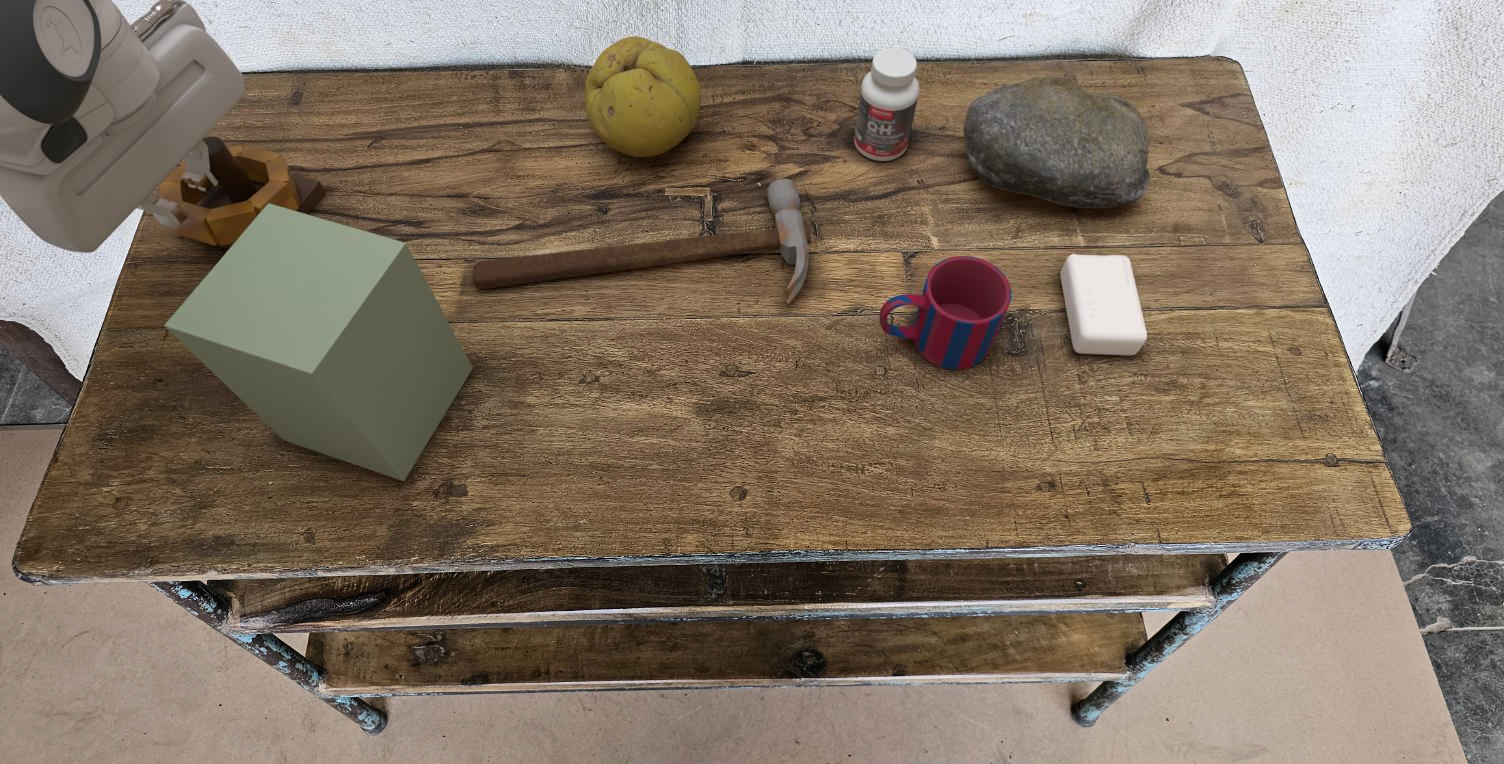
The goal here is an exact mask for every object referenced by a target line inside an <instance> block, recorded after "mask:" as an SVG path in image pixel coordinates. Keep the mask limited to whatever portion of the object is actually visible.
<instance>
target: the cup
mask: <svg viewBox="0 0 1504 764" xmlns="http://www.w3.org/2000/svg"><path fill="white" fill-rule="evenodd" d="M1011 301H1012V288H1011V284H1010V281H1009V280H1008V278H1007V276H1006V275H1005V274H1004V272H1003V271H1002V270H1000V268H998V267H997V266H996V265H994V264H993V263H991V262H989V261H988V260H985V259H982V258H979V257H977V256H976V257H975V256H970V255H956V256H950V257H948V258H944V259H943V260H941V261H938V262H937V263H936V264H935V265H933V267H932V268H931V269H930V270H929V272H928V274H927V275H926V279H925V282H924V285H923V290H922V292H921V294H913V293H912V294H911V293H907V294H906V293H905V294H899V295H895V296H892V297H891V298H889V299H888V300H886V302H883V303H884V304H883V305H882V306H881V308H880V309H879V315H878V316H879V325H880V326H881V329H882V331H883V332H884V333H885V334H887V335H889V336H890V337H891V336H892V337H894V338H901V339H908V340H912V341H913V345H914V347H915V348H916V350H917V352H918V353H919V354H920V355H921V357H922V358H924V359H925V360H926V361H927V362H928V363H930V364H932V365H934V366H936V367H938V368H942V369H946V370H951V371H952V370H953V371H960V370H961V371H962V370H967V369H970V368H973V367H976V366H977V365H979V364H980V363H981V362H982V361H984V359H986V357H987V356H988V355H989V353H990V350H991V348H992V346H993V343H994V342H995V339H996V336H997V334H998V332H999V330H1000V327H1001V325H1002V324H1003V321H1004V318H1005V316H1006V313H1007V311H1008V309H1009V307H1010V304H1011ZM906 306H914V307H918V308H917V311H916V314H915V317H914V322H913V325H912V326H898V325H894V324H891V323H888V322H887V318H888V316H889V315H890V313H891V312H892V311H895V309H897V308H900V307H906Z"/></svg>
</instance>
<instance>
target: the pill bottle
mask: <svg viewBox="0 0 1504 764" xmlns="http://www.w3.org/2000/svg"><path fill="white" fill-rule="evenodd" d="M917 64H918V62H917V60H916V57H915V56H914V55H913V54H912V53H911V52H909V51H908V50H905V49H903V48H899V47H888V48H884V49H881V50H879V51H877V52H876V53H875V55H873V58H872V62H871V67H870V71H869V72H867V73H866V75H865V76H864V77H863V79H862V81H861V86H860V91H859V98H858V99H859V100H858V108H857V114H856V119H855V120H856V121H855V129H854V136H853V143H854V146H855V148H856V150H857V152H859V153H860V154H861V155H862V156H864V157H865V158H868V159H870V160H872V161H876V162H890V161H893V160H895V159H898V158H899V157H901V156H902V155H904V154H905V153H906V151H907V149H908V146H909V142H910V139H911V133H912V128H913V124H914V119H915V115H916V114H915V113H916V109H917V106H918V99H919V96H920V84H919V81H918V79H917V78H916V74H917V67H918V65H917Z"/></svg>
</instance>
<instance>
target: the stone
mask: <svg viewBox="0 0 1504 764" xmlns="http://www.w3.org/2000/svg"><path fill="white" fill-rule="evenodd" d="M963 137H964V147H965V148H964V150H965V153H966V156H967V159H968V161H969V165H970V167H971V168H972V169H973V171H974V172H975V174H976V176H978V178H979V179H980V180H982V181H983V182H984V183H985V184H987V186H989V187H990V188H993V189H997V190H1003V191H1006V192H1011V193H1013V194H1021V195H1029V196H1033V197H1035V198H1038V199H1042V200H1045V201H1048V202H1050V203H1054V204H1057V205H1061V206H1064V207H1065V206H1066V207H1071V208H1078V209H1111V208H1116V207H1119V206H1122V205H1127V204H1130V203H1133V202H1136V201H1138V200H1140V199H1141V198H1142V197H1143V195H1144V193H1145V191H1147V189H1148V187H1149V185H1150V181H1151V174H1150V172H1149V169H1148V168H1147V166H1148V162H1149V161H1148V159H1149V145H1150V139H1149V133H1148V130H1147V127H1146V124H1145V121H1144V118H1143V117H1142V114H1141V112H1140V111H1139V110H1138V108H1137V107H1136V106H1135V105H1134V104H1133V103H1132V102H1131V101H1130V100H1129V99H1127V98H1125V97H1123V96H1121V95H1119V94H1113V93H1112V94H1111V93H1099V94H1092V93H1090V92H1089V91H1086V90H1085V89H1084V88H1082V87H1080V86H1079V85H1078V84H1077V83H1076V82H1075V81H1073V80H1072V79H1070V78H1067V77H1063V76H1053V75H1049V76H1043V77H1040V76H1036V75H1035V76H1032V77H1029V78H1027V79H1024V80H1021V81H1018V82H1017V81H1016V82H1014V83H1010V84H1009V83H1008V84H1006V85H1001V86H998V87H996V88H994V89H992V90H990V91H988V92H987V93H986V94H984V95H982V96H979V97H976V99H974V100H972V101H971V103H970V104H969V106H968V108H967V110H966V115H965V119H964V125H963Z"/></svg>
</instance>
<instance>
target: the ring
mask: <svg viewBox="0 0 1504 764" xmlns="http://www.w3.org/2000/svg"><path fill="white" fill-rule="evenodd" d="M227 148H228V149H229V151H230V152H231V154H232V155H233V156H234V158H235V159H236V161H237V162H238V163H239V165H240V166H241V168H242V169H243V170H244V172H245V173H246V175H247V176H248V178H249V179H250V180H253V181H256V182H260V183H264V184H266V185H265V186H264V187H263V188H261V189H260V190H259V191H258V192H257V193H256V194H254V195H253V196H252V197H251V198H250V199H249V200H247V201H244V202H240V203H236V204H231V205H227V206H222V207H218V208H214V209H207V208H204V207H201V206H197V205H198V204H199V203H200V202H201V201H202V200H203V199H204V198H205V197H206V195H203V194H202V193H196V192H194V191H193V190H191V189H190V188H189V186H188V183H185V181H184V180H183V179H182V178H181V177H182V175H183V174H184V173H185V172H186V171H187V169H186V165H185V162H183V163H182V164H180V165H179V166H177V168H175V169H174V170H173V171H172V172H171V173H170V174H169V175H168V176H167V177H166V178H165V179H164V180H163V181H162V182H161V183H160V184H159V186H160V199H165V200H168V202H175V203H178V204H179V205H180V206H181V207H182V209H183V212H186V213H187V215H188V217H187V218H186V219H185V220H184V222H183V223H182V224H181V225H180V226H179V227H178V228H177V229H174V230H175V231H176V232H177V233H178V234H179V236H181V237H184V238H187V239H191V240H194V241H198V242H201V243H204V244H207V245H211V246H217V244H218V243H220V245H221V246H223V245H228V244H232V243H235V242H236V241H237V239H238V238H239V237H240V236H241V235H242V234H243V232H244V231H245V230H246V229H247V228H248V227H249V225H250V224H251V223H252V222H253V221H254V220H255V218H256V217H257V216H258V215H259V214H260V212H261V211H262V210H263V209H264V208H265V207H266V205H267V204H273V205H276V206H279V207H283V208H286V209H290V210H293V211H296V210H297V209H298V208H299V207H298V205H299V204H300V200H299V196H298V192H297V188H296V184H295V180H294V178H293V176H292V174H293V173H292V171H291V169H290V167H289V165H288V163H287V160H286V158H285V156H282V154H280V153H278V152H273V151H270V150H266V149H262V148H259V147H255V146H252V145H245V146H244V147H243V145H241V144H239V145H237V146H231V147H227ZM217 187H220V186H219V185H218V184H217V186H216V187H215V188H214V189H213V190H215V189H216V188H217ZM213 190H212V191H213ZM212 191H211V192H212ZM211 192H210V193H211ZM210 193H209V194H210ZM209 194H208V195H209Z"/></svg>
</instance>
